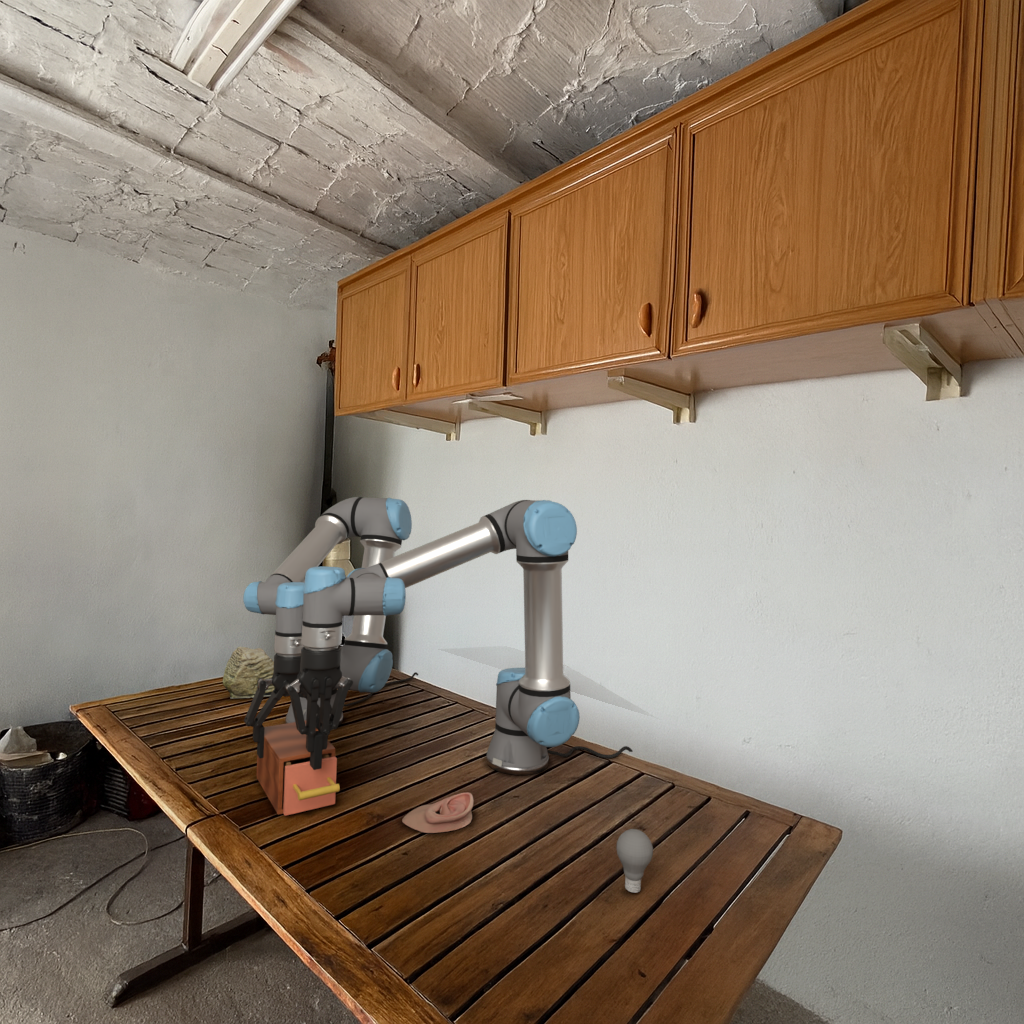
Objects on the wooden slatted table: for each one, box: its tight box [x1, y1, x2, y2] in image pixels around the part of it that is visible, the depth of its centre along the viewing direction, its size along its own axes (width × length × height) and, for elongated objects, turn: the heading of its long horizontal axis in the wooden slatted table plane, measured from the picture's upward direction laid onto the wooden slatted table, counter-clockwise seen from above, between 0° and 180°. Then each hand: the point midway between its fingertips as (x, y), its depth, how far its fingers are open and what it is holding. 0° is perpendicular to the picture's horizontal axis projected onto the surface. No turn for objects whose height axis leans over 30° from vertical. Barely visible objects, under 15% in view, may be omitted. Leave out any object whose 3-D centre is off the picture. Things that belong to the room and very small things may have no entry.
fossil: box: [222, 646, 275, 699], centre depth 198 cm, size 9×18×15 cm, turn 132°
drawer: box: [282, 754, 341, 817], centre depth 131 cm, size 23×10×9 cm, turn 34°
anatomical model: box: [401, 791, 474, 834], centre depth 126 cm, size 13×4×12 cm
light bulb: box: [615, 828, 654, 894], centre depth 106 cm, size 6×6×10 cm
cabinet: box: [255, 721, 336, 816], centre depth 136 cm, size 19×11×11 cm, turn 34°
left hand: (288, 750), depth 141 cm, fingers closed on cabinet, 11 cm apart
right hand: (315, 766), depth 124 cm, fingers closed
